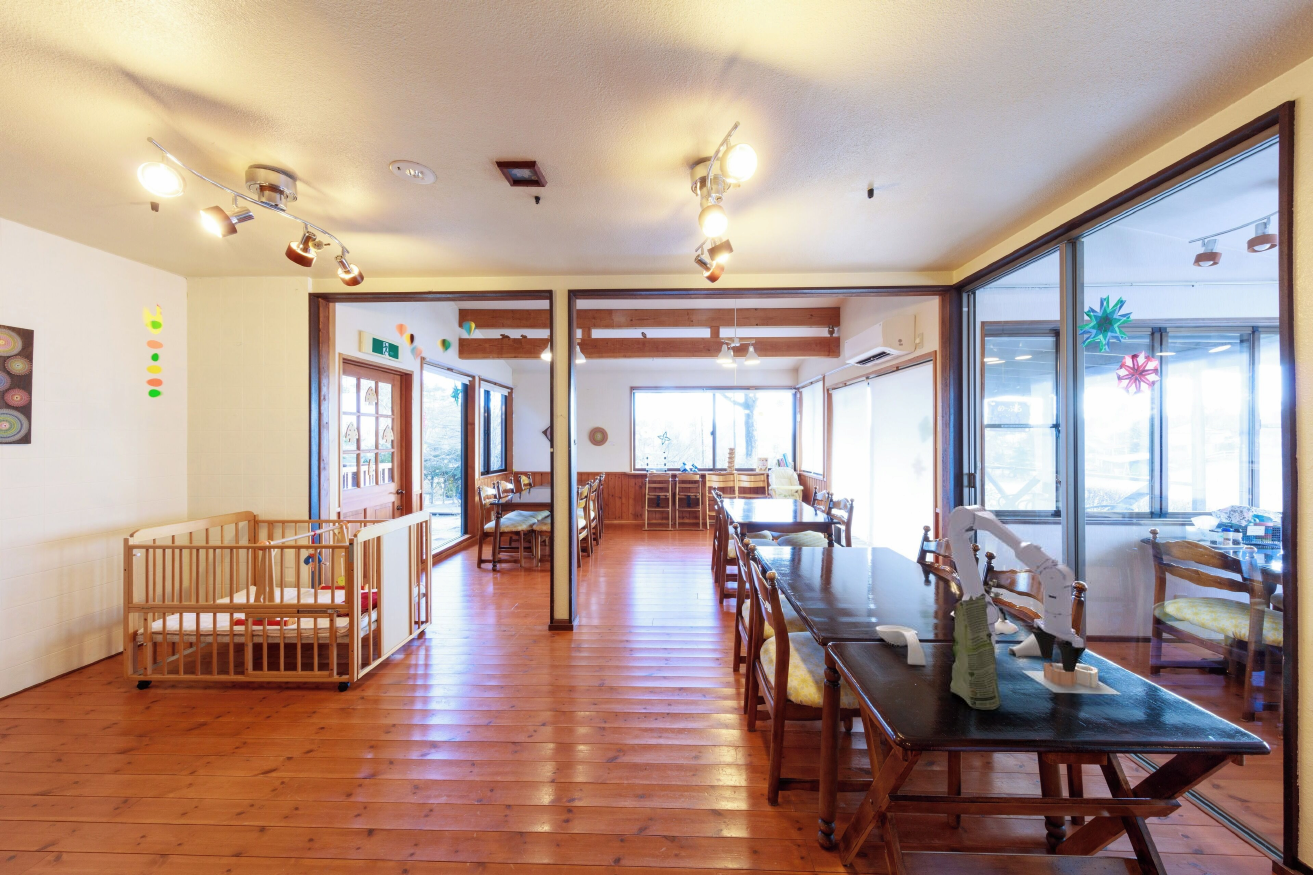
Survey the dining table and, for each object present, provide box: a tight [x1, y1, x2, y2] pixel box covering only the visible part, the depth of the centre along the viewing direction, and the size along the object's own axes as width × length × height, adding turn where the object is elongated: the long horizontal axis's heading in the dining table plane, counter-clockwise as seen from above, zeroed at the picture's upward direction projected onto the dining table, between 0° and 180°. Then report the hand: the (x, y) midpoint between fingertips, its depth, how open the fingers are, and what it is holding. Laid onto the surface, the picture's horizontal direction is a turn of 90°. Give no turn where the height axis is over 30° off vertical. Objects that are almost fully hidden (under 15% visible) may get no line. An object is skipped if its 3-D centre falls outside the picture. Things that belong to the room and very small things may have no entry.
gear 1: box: [1043, 662, 1075, 686], centre depth 130 cm, size 5×5×4 cm
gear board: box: [1022, 662, 1123, 695], centre depth 129 cm, size 16×12×5 cm
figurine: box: [950, 579, 1019, 635], centre depth 175 cm, size 20×18×16 cm
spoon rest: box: [875, 624, 927, 666], centre depth 153 cm, size 24×12×7 cm, turn 173°
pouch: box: [950, 593, 1002, 711], centre depth 122 cm, size 11×12×25 cm
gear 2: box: [1074, 662, 1099, 687], centre depth 130 cm, size 5×5×4 cm
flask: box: [1007, 632, 1042, 658], centre depth 147 cm, size 7×7×10 cm
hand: (1057, 664), depth 130 cm, fingers open, 7 cm apart
